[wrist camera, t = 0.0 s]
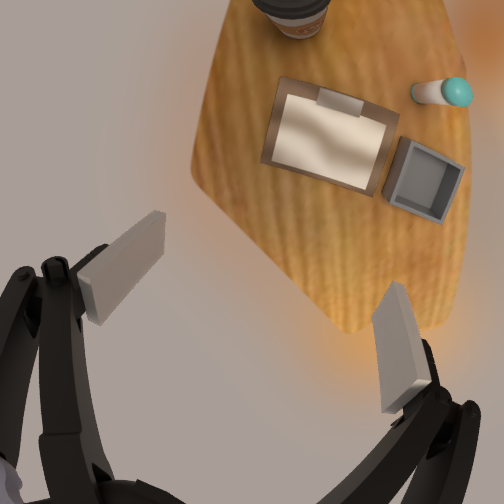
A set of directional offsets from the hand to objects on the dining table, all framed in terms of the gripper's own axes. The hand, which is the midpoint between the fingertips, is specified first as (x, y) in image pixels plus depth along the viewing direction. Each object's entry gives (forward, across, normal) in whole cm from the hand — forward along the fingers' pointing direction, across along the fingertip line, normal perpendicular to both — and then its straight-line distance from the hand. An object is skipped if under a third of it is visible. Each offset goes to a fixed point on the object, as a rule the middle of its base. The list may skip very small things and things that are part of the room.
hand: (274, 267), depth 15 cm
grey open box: (+28, +17, +4) cm, 33 cm away
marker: (+28, +14, +16) cm, 35 cm away
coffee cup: (+28, -5, +21) cm, 36 cm away
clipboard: (+28, +3, +5) cm, 29 cm away
